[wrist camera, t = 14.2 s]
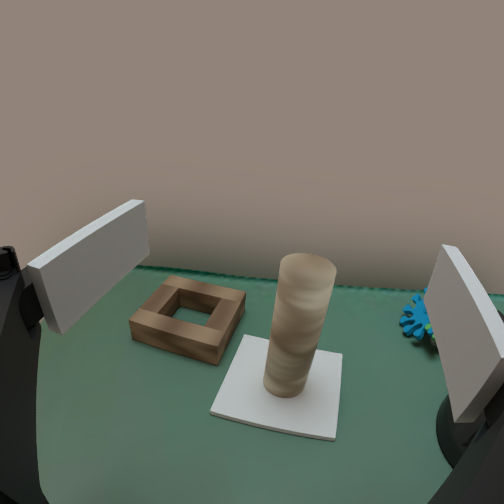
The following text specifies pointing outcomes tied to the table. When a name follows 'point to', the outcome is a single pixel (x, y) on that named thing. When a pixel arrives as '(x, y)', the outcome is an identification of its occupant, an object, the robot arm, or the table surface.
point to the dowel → (297, 321)
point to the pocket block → (184, 333)
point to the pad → (275, 408)
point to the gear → (417, 320)
